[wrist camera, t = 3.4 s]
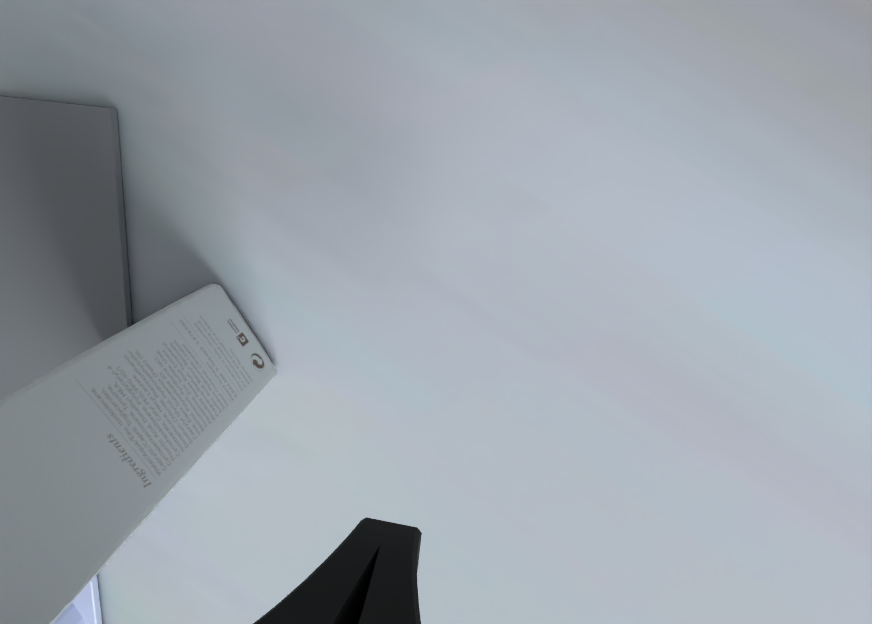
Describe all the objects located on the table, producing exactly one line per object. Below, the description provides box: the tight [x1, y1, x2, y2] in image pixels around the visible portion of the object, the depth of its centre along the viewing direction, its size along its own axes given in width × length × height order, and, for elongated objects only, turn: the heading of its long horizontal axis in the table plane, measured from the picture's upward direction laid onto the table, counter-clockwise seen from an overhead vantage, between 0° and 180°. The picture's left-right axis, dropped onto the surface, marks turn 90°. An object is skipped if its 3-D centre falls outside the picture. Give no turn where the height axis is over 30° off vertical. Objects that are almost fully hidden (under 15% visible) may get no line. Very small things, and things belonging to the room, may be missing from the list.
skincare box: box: [0, 284, 277, 624], centre depth 15 cm, size 6×4×12 cm
